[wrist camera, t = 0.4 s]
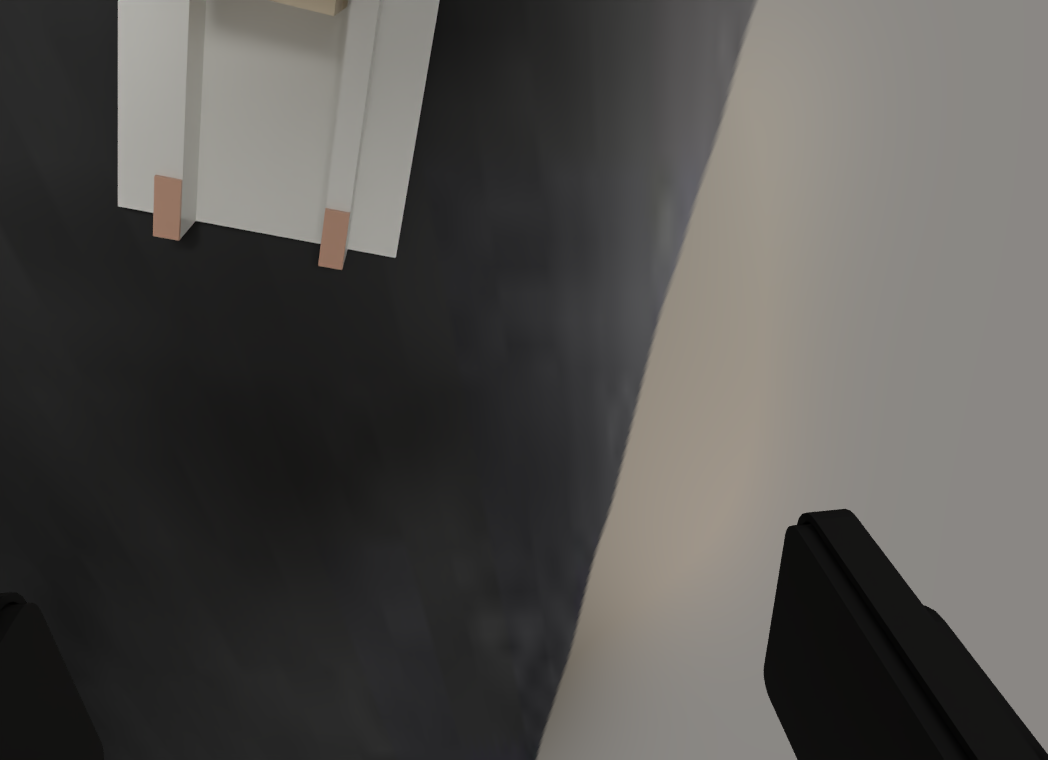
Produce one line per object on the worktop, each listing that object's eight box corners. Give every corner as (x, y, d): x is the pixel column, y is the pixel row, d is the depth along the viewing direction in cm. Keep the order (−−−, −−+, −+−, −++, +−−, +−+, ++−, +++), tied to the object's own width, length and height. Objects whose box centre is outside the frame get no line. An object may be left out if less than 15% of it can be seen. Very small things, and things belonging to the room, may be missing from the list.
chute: (128, -276, 27) (87, -306, 24) (468, -172, 30) (473, -187, 26) (125, 199, 35) (94, 225, 31) (396, 250, 37) (393, 279, 34)
